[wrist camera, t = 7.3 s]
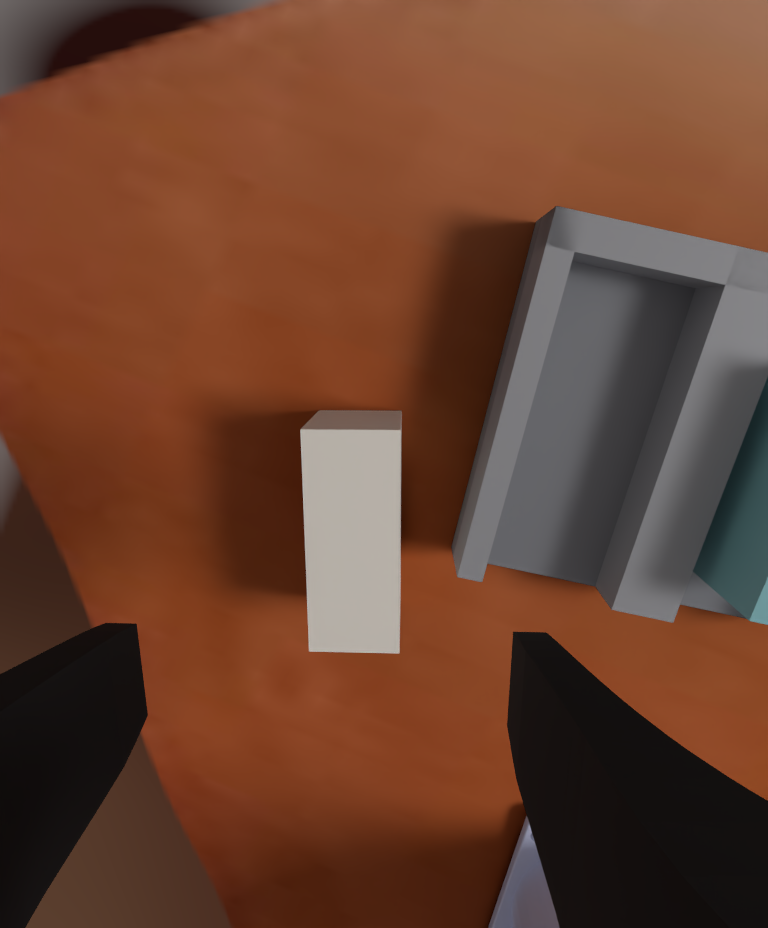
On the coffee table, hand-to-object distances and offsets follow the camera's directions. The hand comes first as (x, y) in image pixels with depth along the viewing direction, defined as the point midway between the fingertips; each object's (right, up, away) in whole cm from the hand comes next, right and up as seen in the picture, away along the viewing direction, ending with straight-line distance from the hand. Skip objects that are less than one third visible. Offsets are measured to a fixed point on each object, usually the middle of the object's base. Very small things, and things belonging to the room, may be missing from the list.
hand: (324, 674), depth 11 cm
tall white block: (0, +2, +9) cm, 10 cm away
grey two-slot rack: (+11, +5, +8) cm, 14 cm away
